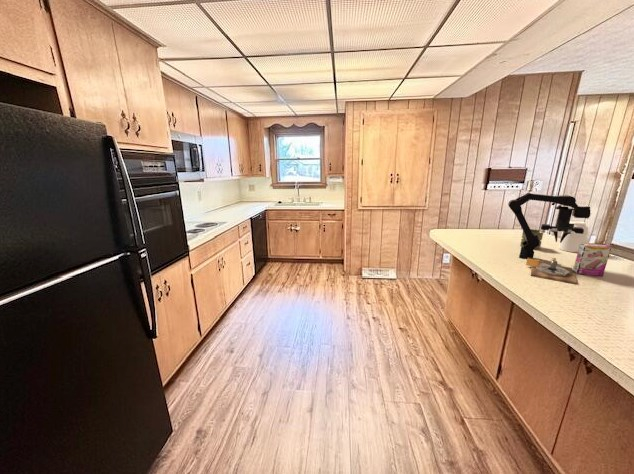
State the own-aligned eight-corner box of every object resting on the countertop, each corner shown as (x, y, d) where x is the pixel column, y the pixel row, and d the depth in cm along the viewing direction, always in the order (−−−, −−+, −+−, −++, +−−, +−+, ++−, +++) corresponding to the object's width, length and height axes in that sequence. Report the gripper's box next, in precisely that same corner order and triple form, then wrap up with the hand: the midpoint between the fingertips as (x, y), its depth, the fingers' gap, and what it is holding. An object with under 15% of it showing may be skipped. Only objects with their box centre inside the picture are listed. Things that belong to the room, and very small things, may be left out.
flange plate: (572, 272, 144) (573, 264, 143) (562, 277, 138) (564, 270, 137) (531, 262, 160) (532, 255, 158) (521, 266, 153) (522, 259, 152)
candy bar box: (577, 274, 145) (584, 245, 140) (572, 270, 149) (579, 242, 145) (603, 276, 141) (612, 247, 137) (597, 273, 146) (605, 244, 141)
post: (549, 273, 147) (551, 261, 145) (548, 271, 148) (551, 260, 147) (554, 274, 145) (557, 262, 143) (554, 272, 147) (557, 261, 145)
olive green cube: (538, 229, 193) (546, 233, 182) (535, 245, 196) (543, 250, 185) (520, 228, 196) (527, 232, 185) (517, 244, 199) (524, 248, 189)
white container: (585, 253, 176) (592, 224, 171) (560, 251, 182) (566, 222, 177) (579, 248, 186) (587, 220, 181) (556, 246, 193) (562, 219, 187)
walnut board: (530, 275, 144) (531, 274, 144) (531, 262, 162) (531, 261, 162) (576, 284, 133) (577, 282, 133) (571, 269, 151) (571, 267, 151)
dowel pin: (550, 267, 155) (552, 258, 153) (550, 266, 156) (552, 257, 154) (554, 267, 154) (556, 259, 152) (553, 267, 155) (556, 258, 154)
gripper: (544, 217, 157) (538, 243, 161) (588, 221, 146) (581, 248, 150) (543, 214, 165) (538, 238, 169) (585, 217, 154) (578, 243, 158)
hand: (558, 242), depth 161 cm, fingers closed
